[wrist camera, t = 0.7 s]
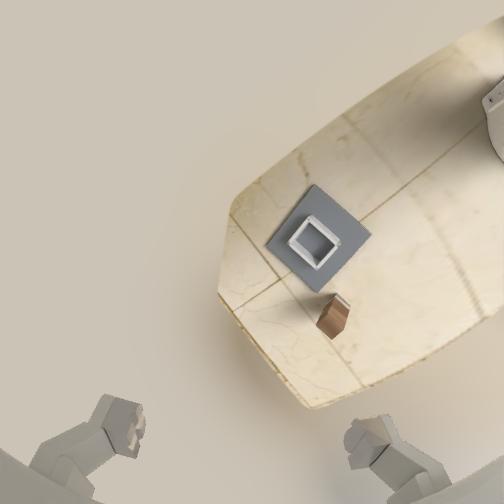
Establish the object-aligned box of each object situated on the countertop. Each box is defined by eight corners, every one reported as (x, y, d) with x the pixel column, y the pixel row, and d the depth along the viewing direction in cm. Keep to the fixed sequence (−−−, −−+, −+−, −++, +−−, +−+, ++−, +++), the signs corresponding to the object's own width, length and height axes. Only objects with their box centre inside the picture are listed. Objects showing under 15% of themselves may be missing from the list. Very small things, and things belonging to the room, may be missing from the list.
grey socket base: (315, 184, 50) (310, 184, 46) (371, 233, 47) (370, 237, 44) (267, 245, 57) (260, 249, 54) (318, 291, 55) (313, 298, 51)
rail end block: (336, 293, 53) (327, 314, 44) (350, 306, 52) (343, 329, 44) (327, 302, 54) (315, 325, 46) (340, 315, 54) (331, 339, 45)
